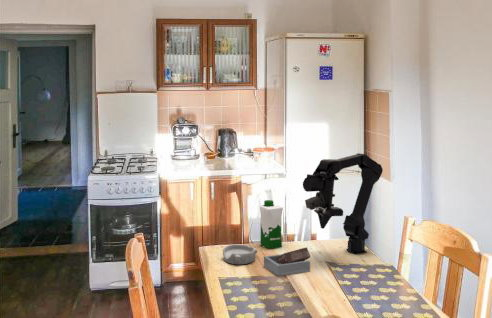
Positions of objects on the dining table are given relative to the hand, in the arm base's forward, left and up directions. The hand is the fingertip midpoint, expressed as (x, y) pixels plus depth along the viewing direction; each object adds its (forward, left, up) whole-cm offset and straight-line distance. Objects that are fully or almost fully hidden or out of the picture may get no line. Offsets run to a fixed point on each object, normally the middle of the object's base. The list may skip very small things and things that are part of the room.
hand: (322, 228), depth 231 cm
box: (+10, +4, -9) cm, 14 cm away
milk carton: (+11, -25, -13) cm, 30 cm away
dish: (+31, -13, -13) cm, 36 cm away
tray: (+18, +5, -13) cm, 23 cm away
